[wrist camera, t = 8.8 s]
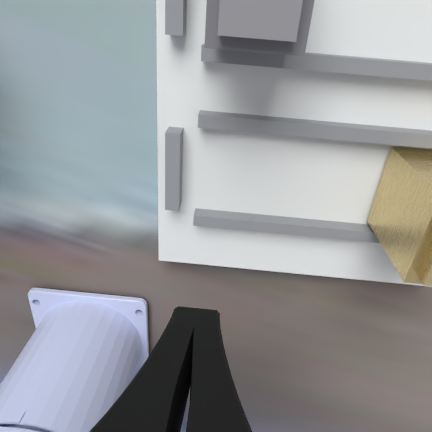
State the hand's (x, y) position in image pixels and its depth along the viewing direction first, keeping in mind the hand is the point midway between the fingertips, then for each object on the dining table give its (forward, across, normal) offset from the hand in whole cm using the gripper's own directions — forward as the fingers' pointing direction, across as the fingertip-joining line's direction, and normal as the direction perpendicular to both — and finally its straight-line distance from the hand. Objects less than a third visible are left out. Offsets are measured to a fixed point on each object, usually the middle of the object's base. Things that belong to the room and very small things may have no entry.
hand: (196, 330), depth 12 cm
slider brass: (+9, -10, -2) cm, 13 cm away
